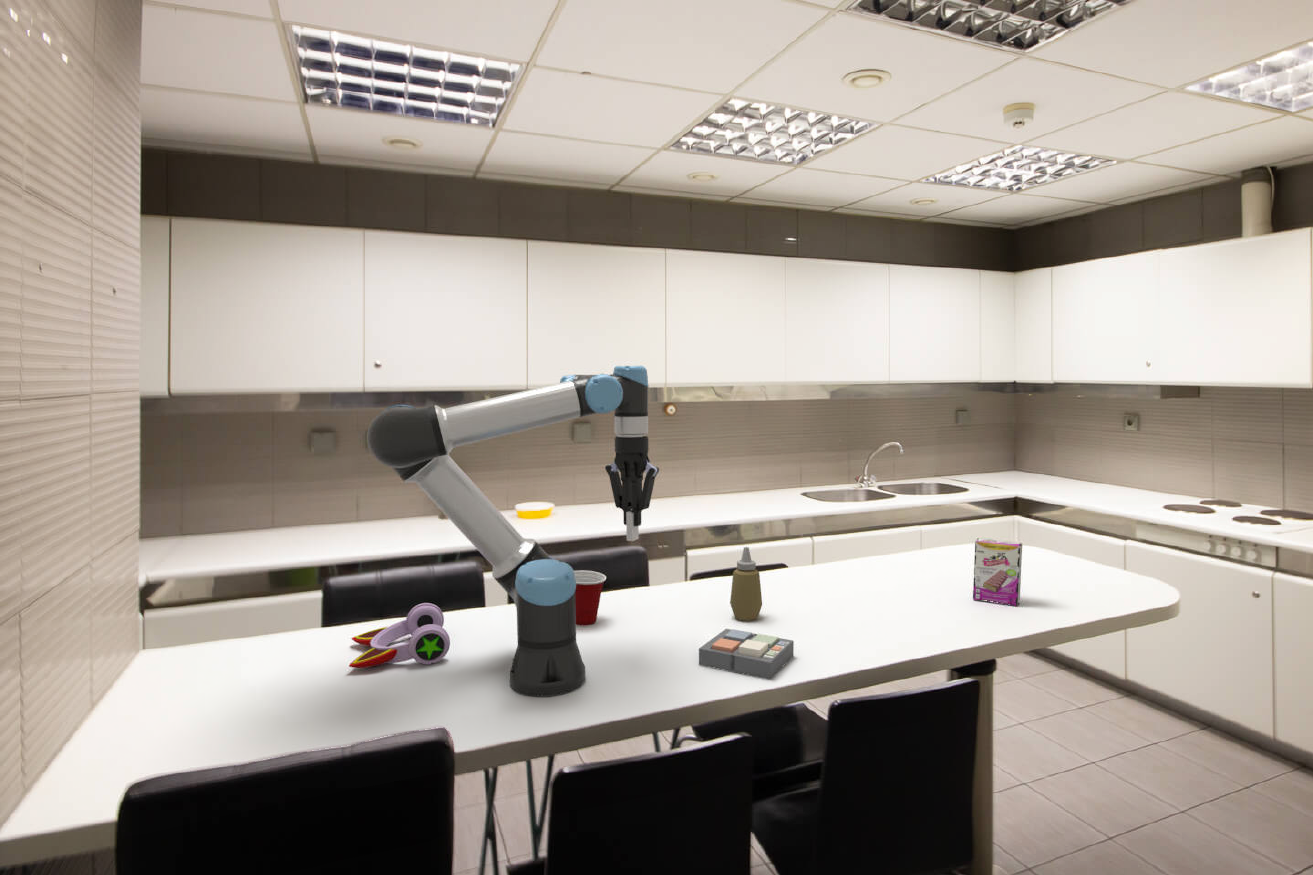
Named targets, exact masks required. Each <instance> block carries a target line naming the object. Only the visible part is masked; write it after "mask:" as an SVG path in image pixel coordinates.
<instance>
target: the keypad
mask: <svg viewBox="0 0 1313 875" xmlns="http://www.w3.org/2000/svg"><path fill="white" fill-rule="evenodd" d="M731 630H732V628H731V629H730V628H725V629H723V630H722V631H721V632H720V633H718V634H717V635H716V636H714V637H713V638H711V639H710V640H708V641H707V642H705V643H704V644H703V645H702V646H700V647H699V648H698V665H699V666H705V667H708V666H710V667H709V668H713V667H715V668H714V669H717V668H719V669H718V670H722V669H724V670H723V671H727V670H728V671H727V672H732V671H733V672H732V673H737V674H741V673H744V674H743V675H746V674H749V675H748V676H751V675H752V677H756V676H757V678H761V679H765V678H766V680H772V679H773V678H774V676H775V675H777V674H778V672H780V671H781V669H783V667H784V666H785V665H786V664H787V663H788V662H790V661H791V659H793V657H794V649H795V648H794V646H795V644H794V643H795V642H794V640H791V639H787V638H781V637H778V643H777V644H776V645H775V646H773V647H772V648H769V647H768V652H767V653H766V654H765V655H763V656H762V657H761V658H757V657H752V656H746V655H741V654H739V648H738V649H737V650H735V651H734V652H733V653H731V652H726V651H721V650H715V649H712V644H714V643H715V642H716V641H718V640H719V639H720V638H723V639H724V635H726V634H727V633H728V632H730V631H731ZM751 633H752V637H751V638H750V639H749V640H752V639H753V638H754V637H755V636H757V635H758V634H759V633H753V632H751ZM741 644H742V642H740V645H741ZM786 662H787V663H786ZM785 663H786V664H785ZM784 664H785V665H784ZM783 665H784V666H783ZM782 666H783V667H782Z"/></svg>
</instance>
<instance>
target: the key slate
mask: <svg viewBox="0 0 1313 875" xmlns="http://www.w3.org/2000/svg"><path fill="white" fill-rule="evenodd" d="M752 633H753V632H751V631H745V630H739V629H732V628H731V631H730V632H728V633H727V634H726V635H724V639H728V640H734V641H739V642H742V643H744V642H745V641H746V640H747V639H748V640H749V639H750V638H751V637H752Z"/></svg>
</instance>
